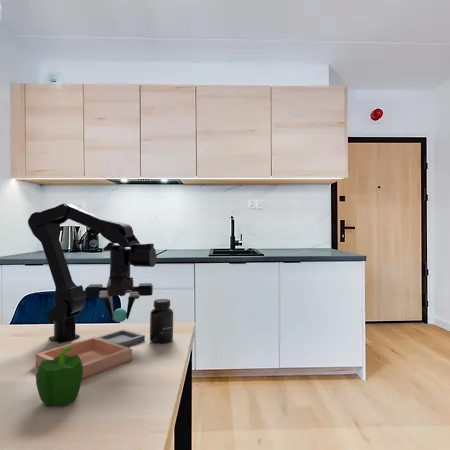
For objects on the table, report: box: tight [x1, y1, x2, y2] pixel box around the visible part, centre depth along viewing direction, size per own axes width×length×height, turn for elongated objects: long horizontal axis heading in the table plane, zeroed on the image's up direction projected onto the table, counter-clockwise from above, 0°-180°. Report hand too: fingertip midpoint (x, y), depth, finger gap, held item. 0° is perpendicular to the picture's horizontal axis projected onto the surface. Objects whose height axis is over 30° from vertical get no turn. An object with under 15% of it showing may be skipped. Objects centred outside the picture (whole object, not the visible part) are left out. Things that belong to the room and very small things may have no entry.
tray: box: [96, 329, 146, 348], centre depth 100 cm, size 10×10×2 cm
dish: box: [35, 336, 133, 381], centre depth 84 cm, size 16×16×3 cm
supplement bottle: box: [149, 298, 174, 345], centre depth 101 cm, size 7×7×12 cm
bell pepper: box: [35, 346, 83, 407], centre depth 66 cm, size 8×8×10 cm
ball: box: [113, 307, 127, 323], centre depth 100 cm, size 4×4×4 cm
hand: (119, 319), depth 100 cm, fingers closed on ball, 4 cm apart
